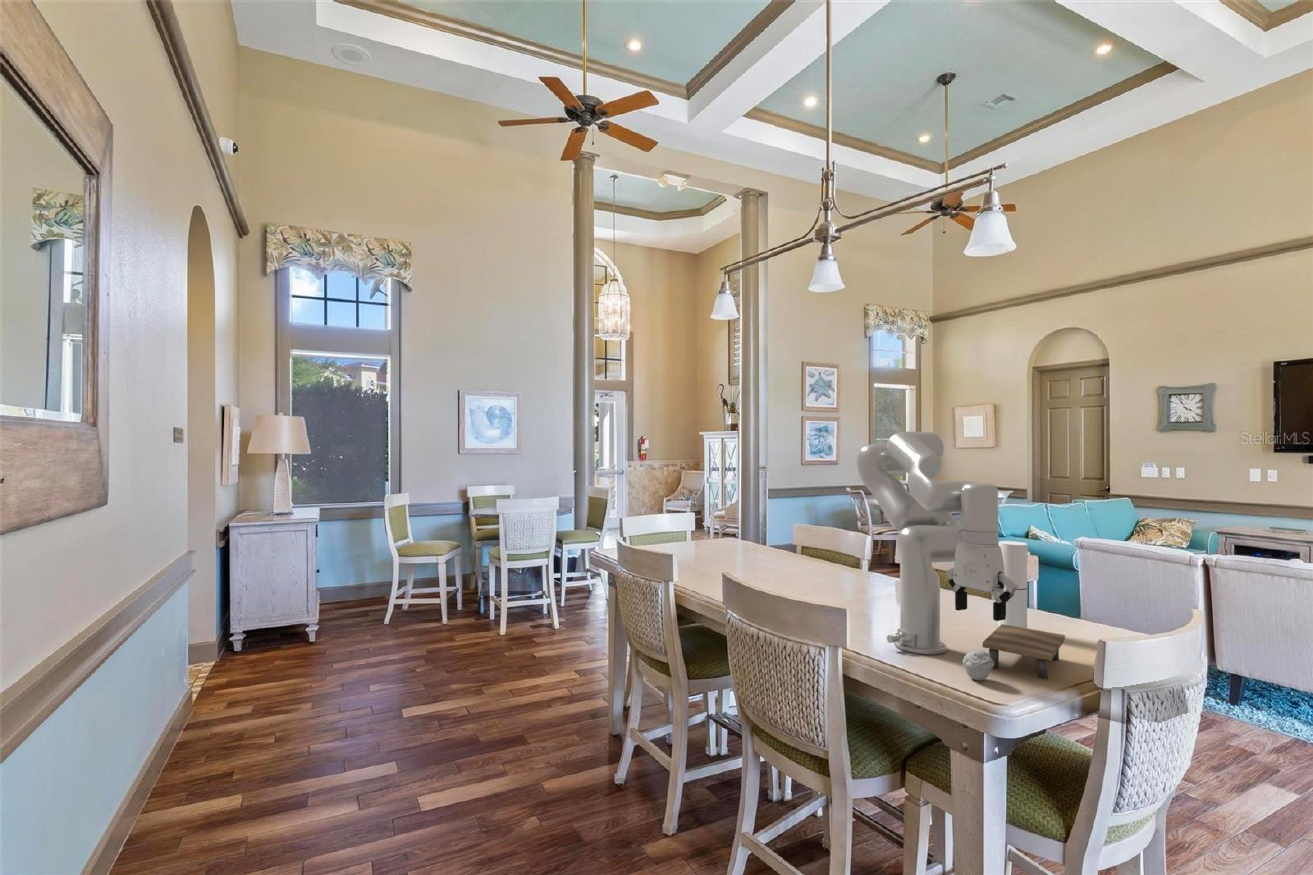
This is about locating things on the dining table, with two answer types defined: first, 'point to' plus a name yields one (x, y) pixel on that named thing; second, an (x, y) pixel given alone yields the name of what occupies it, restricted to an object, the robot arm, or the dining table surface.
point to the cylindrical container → (1017, 573)
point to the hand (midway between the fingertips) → (979, 614)
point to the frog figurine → (978, 664)
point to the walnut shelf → (1025, 645)
